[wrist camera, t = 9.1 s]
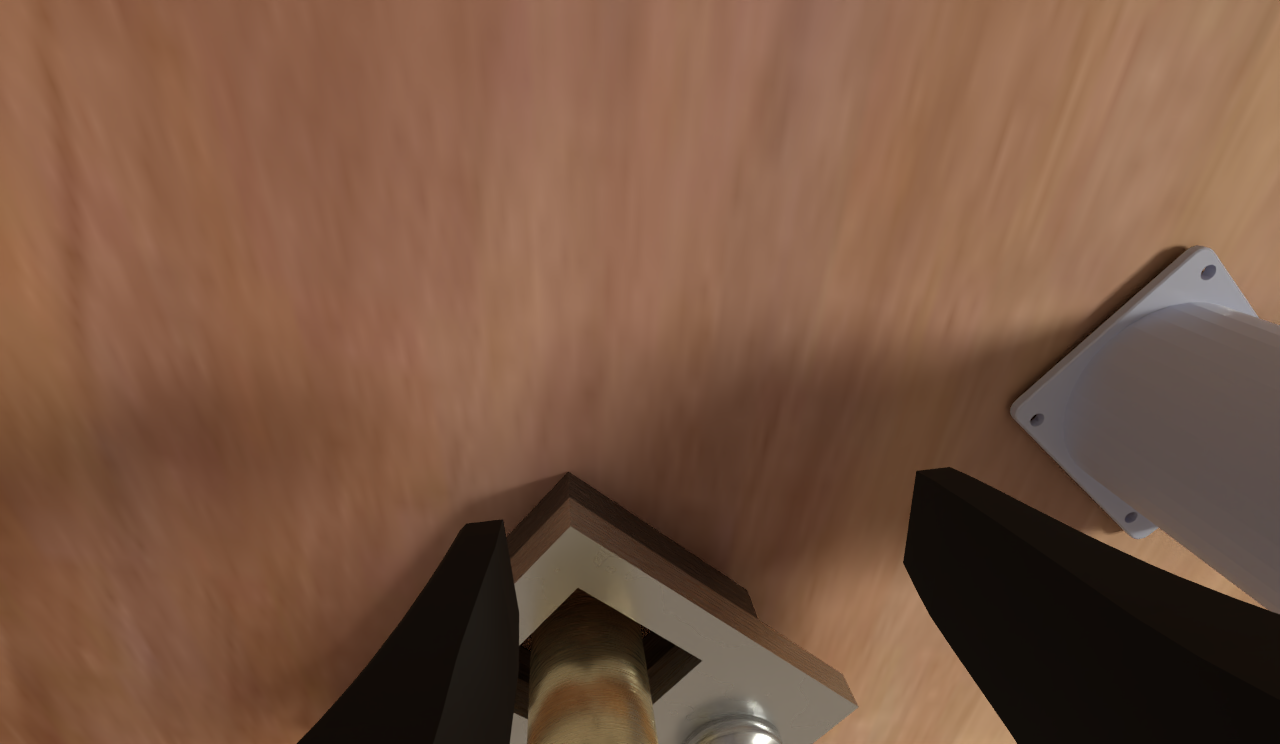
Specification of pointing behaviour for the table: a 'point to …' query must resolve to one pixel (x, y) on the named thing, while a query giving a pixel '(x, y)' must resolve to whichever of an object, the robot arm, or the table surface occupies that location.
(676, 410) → the table surface
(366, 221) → the table surface
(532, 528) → the black base board
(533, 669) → the brass pin
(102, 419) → the table surface
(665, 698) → the grey square hole plate
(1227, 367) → the robot arm
